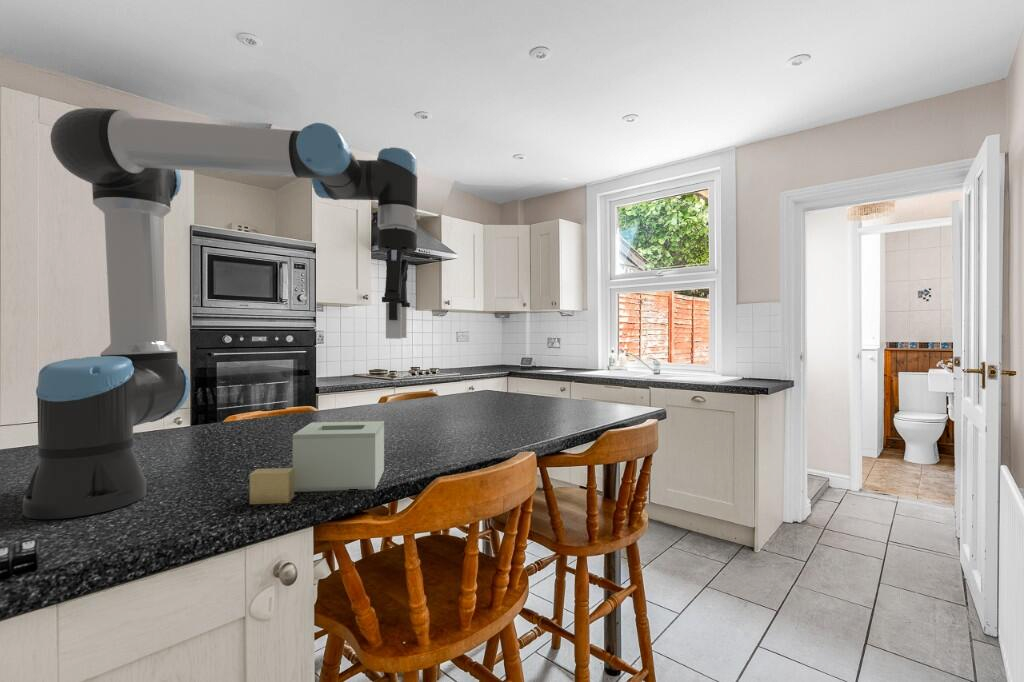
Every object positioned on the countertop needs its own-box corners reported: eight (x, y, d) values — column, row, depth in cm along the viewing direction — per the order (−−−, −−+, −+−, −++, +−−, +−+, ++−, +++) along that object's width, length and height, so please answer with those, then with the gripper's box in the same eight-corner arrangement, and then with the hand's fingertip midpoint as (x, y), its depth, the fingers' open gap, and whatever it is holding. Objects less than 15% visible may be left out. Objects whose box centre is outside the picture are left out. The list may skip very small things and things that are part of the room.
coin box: (292, 492, 86) (292, 434, 86) (311, 472, 98) (311, 422, 98) (375, 489, 88) (375, 433, 88) (384, 470, 100) (384, 421, 99)
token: (249, 504, 80) (249, 473, 80) (256, 498, 83) (256, 468, 83) (288, 503, 81) (288, 472, 81) (294, 497, 84) (294, 467, 84)
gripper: (412, 216, 86) (412, 339, 86) (419, 243, 110) (419, 337, 111) (368, 215, 85) (367, 338, 85) (385, 241, 109) (384, 337, 110)
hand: (396, 338), depth 98 cm, fingers open, 13 cm apart
